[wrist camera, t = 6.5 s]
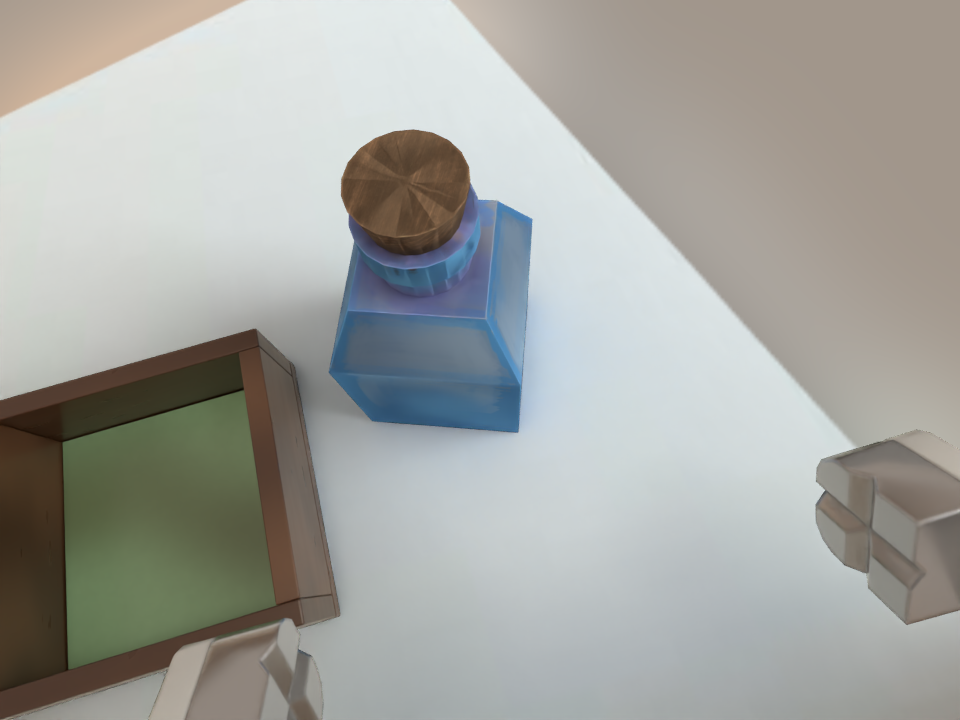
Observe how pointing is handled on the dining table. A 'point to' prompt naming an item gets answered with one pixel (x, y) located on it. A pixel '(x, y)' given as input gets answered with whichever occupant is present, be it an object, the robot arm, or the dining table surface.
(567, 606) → the dining table surface
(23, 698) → the wooden compartment tray
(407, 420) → the perfume bottle
